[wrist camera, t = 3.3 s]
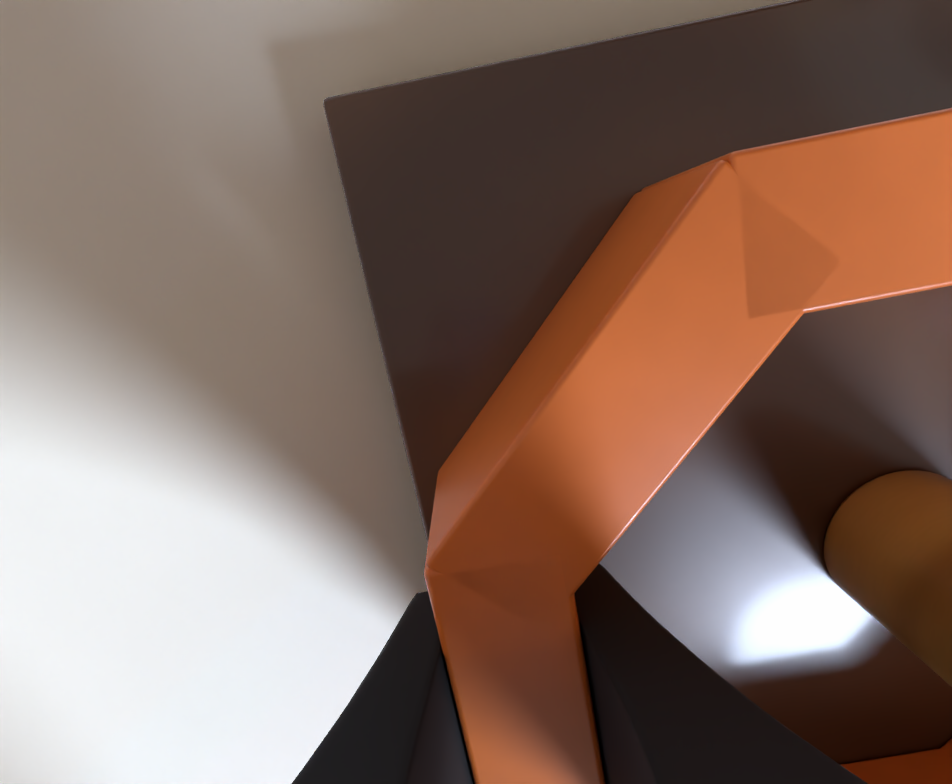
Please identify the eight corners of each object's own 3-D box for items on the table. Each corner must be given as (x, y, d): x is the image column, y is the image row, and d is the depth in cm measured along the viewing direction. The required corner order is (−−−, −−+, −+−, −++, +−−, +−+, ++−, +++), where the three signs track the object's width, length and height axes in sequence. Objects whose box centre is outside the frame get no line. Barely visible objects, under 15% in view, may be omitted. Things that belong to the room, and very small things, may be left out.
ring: (1164, 776, 10) (1401, 952, 7) (526, 877, 10) (545, 1077, 8) (1284, 60, 7) (1747, -53, 4) (381, 239, 7) (337, 229, 5)
